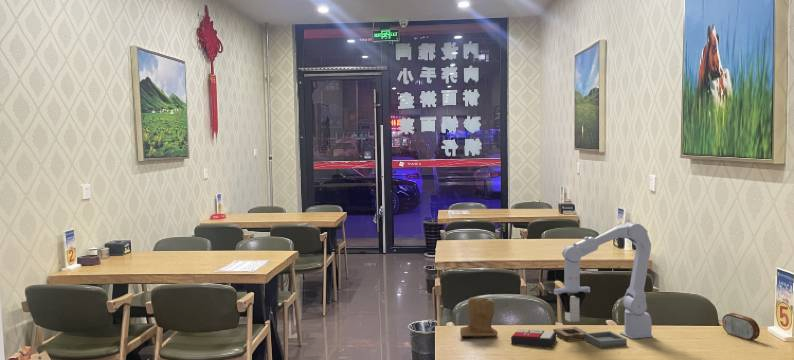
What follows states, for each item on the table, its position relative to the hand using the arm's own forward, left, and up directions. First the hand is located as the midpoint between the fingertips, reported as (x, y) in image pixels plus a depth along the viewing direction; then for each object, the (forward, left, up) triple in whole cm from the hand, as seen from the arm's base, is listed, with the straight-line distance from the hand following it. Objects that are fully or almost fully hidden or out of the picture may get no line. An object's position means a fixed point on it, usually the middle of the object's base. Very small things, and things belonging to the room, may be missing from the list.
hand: (572, 311), depth 244 cm
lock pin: (0, 0, -3) cm, 3 cm away
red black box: (+17, +2, -10) cm, 20 cm away
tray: (-8, +11, -10) cm, 16 cm away
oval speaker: (-61, +19, -10) cm, 64 cm away
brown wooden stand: (+34, -12, -10) cm, 38 cm away
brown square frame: (0, 0, -10) cm, 10 cm away
